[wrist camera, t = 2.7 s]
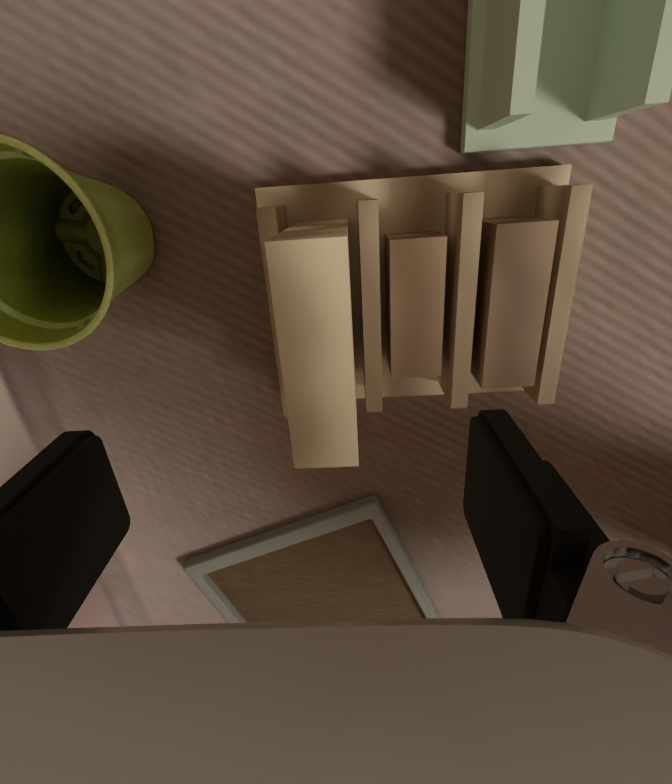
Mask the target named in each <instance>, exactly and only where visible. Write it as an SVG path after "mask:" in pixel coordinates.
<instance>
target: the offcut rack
mask: <svg viewBox="0 0 672 784" xmlns="http://www.w3.org/2000/svg"><path fill="white" fill-rule="evenodd" d="M571 166H572V164H570V165H557V166H544V167H530V168H517V169H504V170H490V171H477V172H464V173H450V174H437V175H424V176H410V177H397V178H384V179H370V180H357V181H344V182H330V183H317V184H304V185H290V186H277V187H264V188H255V195H256V203H257V208H255V210H256V218H257V225H258V232H259V240H260V247H261V254H262V261H263V269H264V276H265V283H266V291H267V298H268V305H269V313H270V320H271V327H272V334H273V342H274V349H275V356H276V364H277V371H278V378H279V385H280V393H281V400H282V407H283V415H284V416H287V409H286V402H285V394H284V387H283V379H282V371H281V364H280V356H279V349H278V341H277V334H276V326H275V319H274V311H273V304H272V296H271V289H270V281H269V274H268V266H267V258H266V251H265V243H264V242H265V241H267V240H269V239H270V238H272V237H274V236H275V235H277V234H279V233H280V232H282V231H284V230H285V229H287V228H289V227H290V226H292V225H294V224H295V223H297V222H309V221H324V220H338V219H347V223H348V242H349V262H350V282H351V302H352V321H353V341H354V361H355V383H356V399H360V398H365V401H366V412H383V405H382V397H402V396H422V395H443V394H444V395H445V397H446V399H447V401H448V403H449V405H450V407H451V409H453V408H468V395H469V393H485V392H506V391H526V392H527V394H528V395H529V396H530V397H531V398H532V399H533V400H534V401H535V403H536V404H537V405H540V404H554V402H555V396H556V391H557V385H558V379H559V374H560V368H561V362H562V357H563V351H564V346H565V340H566V334H567V329H568V323H569V318H570V312H571V306H572V301H573V295H574V289H575V284H576V278H577V273H578V267H579V261H580V256H581V250H582V244H583V239H584V233H585V228H586V222H587V216H588V211H589V205H590V200H591V194H592V188H593V184H577V185H569V179H570V173H571ZM511 216H531V217H539V218H546V219H554V220H559V224H558V231H557V237H556V244H555V251H554V257H553V264H552V270H551V277H550V284H549V290H548V297H547V303H546V310H545V317H544V323H543V330H542V336H541V343H540V350H539V356H538V363H537V369H536V376H535V383H534V386H528V387H507V388H487V389H482V388H481V387H480V385H479V384H478V382H477V381H476V380H475V378H474V377H473V375H472V374H471V372H470V369H471V356H472V344H473V331H474V318H475V305H476V292H477V280H478V267H479V254H480V241H481V228H482V218H497V217H511ZM423 231H436V232H439V233H441V234H443V235H446V236H447V253H446V275H445V297H444V319H443V341H442V363H441V376H433V377H413V378H393V379H391V375H390V371H389V367H388V362H387V358H386V294H385V234H394V233H409V232H423Z"/></svg>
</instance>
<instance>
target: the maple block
mask: <svg viewBox="0 0 672 784" xmlns="http://www.w3.org/2000/svg"><path fill="white" fill-rule="evenodd" d="M264 243H265V251H266V258H267V266H268V274H269V281H270V289H271V296H272V304H273V311H274V319H275V326H276V334H277V341H278V349H279V356H280V364H281V371H282V379H283V387H284V394H285V402H286V409H287V417H288V424H289V432H290V439H291V447H292V454H293V462H294V469H301V468H326V467H351V466H359V456H358V432H357V407H356V383H355V361H354V341H353V321H352V302H351V282H350V262H349V242H348V223H347V219H338V220H324V221H309V222H297V223H295V224H294V225H292V226H290V227H289V228H287V229H285V230H284V231H282V232H280V233H279V234H277V235H275V236H274V237H272V238H270V239H269V240H267V241H265V242H264Z"/></svg>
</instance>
